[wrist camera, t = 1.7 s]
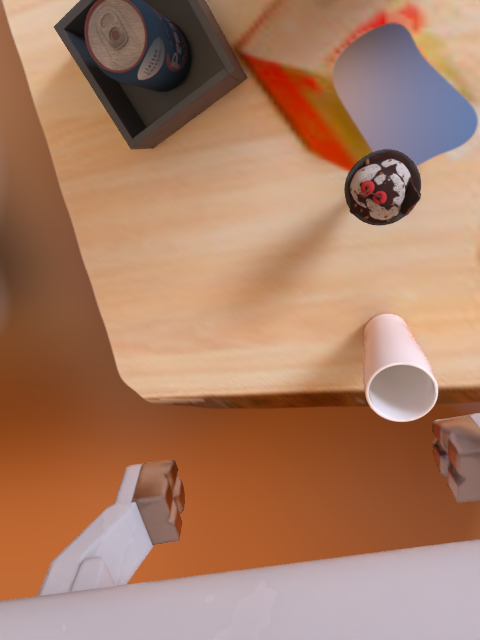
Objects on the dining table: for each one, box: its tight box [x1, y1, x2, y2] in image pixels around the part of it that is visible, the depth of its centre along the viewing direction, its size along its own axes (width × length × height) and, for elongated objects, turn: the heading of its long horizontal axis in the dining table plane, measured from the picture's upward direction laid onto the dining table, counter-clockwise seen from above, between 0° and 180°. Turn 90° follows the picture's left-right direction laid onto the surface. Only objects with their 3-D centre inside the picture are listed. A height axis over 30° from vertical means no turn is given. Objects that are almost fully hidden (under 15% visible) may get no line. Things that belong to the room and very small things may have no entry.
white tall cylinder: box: [363, 314, 438, 422], centre depth 49 cm, size 7×7×15 cm
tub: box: [54, 0, 247, 149], centre depth 46 cm, size 14×14×6 cm
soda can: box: [84, 0, 190, 92], centre depth 44 cm, size 7×7×12 cm
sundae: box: [345, 149, 421, 225], centre depth 43 cm, size 7×7×15 cm
